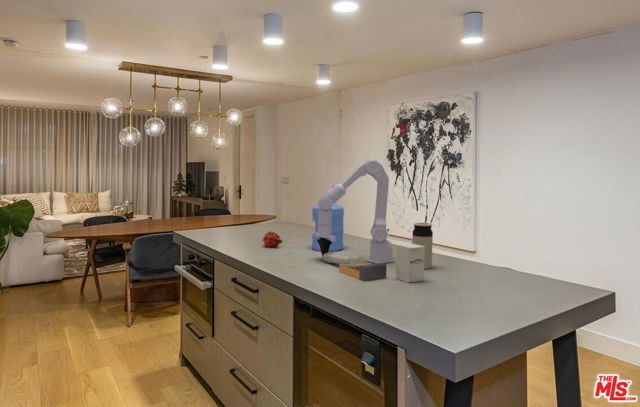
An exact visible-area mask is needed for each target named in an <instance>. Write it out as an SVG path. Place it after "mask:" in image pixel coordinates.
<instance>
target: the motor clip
mask: <svg viewBox="0 0 640 407" xmlns="http://www.w3.org/2000/svg"><path fill="white" fill-rule="evenodd" d="M360 264H362V265H361V266H359V271H358V270H355V269H353V268H350V267H348V266H346V265H345V264H339V265H338V271H339V272H340V273H343V274H346V275H348V276H350V277H353V278H356V279H358V280H360V281H363V282H369V281H374V280H382V279H386V278H387V263H377V264H376V263H371V264H365V263H361V262H360Z"/></svg>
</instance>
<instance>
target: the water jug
mask: <svg viewBox="0 0 640 407" xmlns="http://www.w3.org/2000/svg"><path fill="white" fill-rule="evenodd" d="M319 208H320V207H319V204H318V203H317V204H316V205H315V206H313V207H312V212H311V213H312V222H314V223H315V224H314V226H315V228H314V233H312V237H311V238H312V241H311V242H312V244H311V248H312V250H314V251H319V252H321V249H320V246H319V243H318V242H317V239H320V238H319V237H315V232H318V214H319ZM331 214H332V235H333V236H335V237H336V241H333V242H332V243H331V245H330V248H329V251H328V253H330V252H339V251H342V250H343V249H344V230H345V229H344V216H345V215H344V214H345V212H344V207H343V206H341V205H339V204H338V203H337V202H336V203H333V204H332V207H331Z"/></svg>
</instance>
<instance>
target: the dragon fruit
mask: <svg viewBox="0 0 640 407" xmlns="http://www.w3.org/2000/svg"><path fill="white" fill-rule="evenodd" d="M262 242H264V247H269V248H272V249H273V248H275V247H278V246H279V245H280V244H282V243H283V240H282V238H281V236H279V235H278V233H276V232H275V231H272V230H271V231H268V232H266V233H265V234H264V236H263V239H262Z"/></svg>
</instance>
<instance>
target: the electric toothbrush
mask: <svg viewBox="0 0 640 407" xmlns="http://www.w3.org/2000/svg"><path fill="white" fill-rule="evenodd" d="M321 260H322V261H323V262H324V263H327V264H330V263H333V264H341V265H347V267H350V268H353V269H355V270H358V271H359V266H361V265H362V264H363V263H362V264H360V263H361V260H360V256H357V255H356V256H349V255H343V254H340V253H339V254H337V253H333V251H331V252H328V253H324V254H323V255H322V254H321Z"/></svg>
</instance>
